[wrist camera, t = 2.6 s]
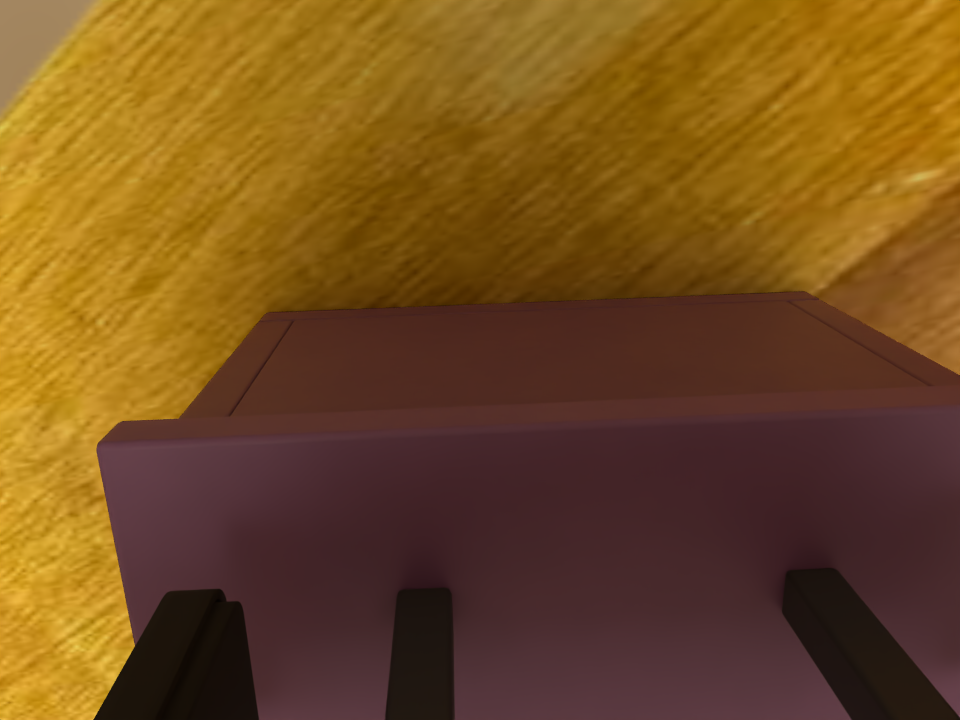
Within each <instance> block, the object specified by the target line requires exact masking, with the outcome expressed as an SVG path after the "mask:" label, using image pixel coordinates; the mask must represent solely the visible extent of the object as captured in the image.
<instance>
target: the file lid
mask: <svg viewBox="0 0 960 720" xmlns="http://www.w3.org/2000/svg"><path fill="white" fill-rule="evenodd" d="M97 456H98V461H99V466H100V471H101V476H102V481H103V486H104V491H105V496H106V501H107V506H108V511H109V517H110V522H111V527H112V532H113V537H114V542H115V547H116V552H117V557H118V562H119V567H120V572H121V577H122V582H123V587H124V592H125V598H126V603H127V608H128V613H129V618H130V623H131V628H132V633H133V638H134V643H135V646H136V644H137V642H138V640H139V638H140V637H141V635H142V633H143V631H144V630H145V628H146V626H147V624H148V623H149V621H150V619H151V617H152V615H153V614H154V612H155V610H156V608H157V607H158V605H159V603H160V601H161V600H162V598H163V597H164V595H165V594H166V593H167V592H169V591H179V590H199V589H218V588H220V589H221V590H223V592H224V594H225V596H226V600H227V601H239V602H240V603H241V605H242V607H243V612H244V618H245V625H246V632H247V639H248V646H249V653H250V660H251V667H252V674H253V681H254V688H255V695H256V702H257V709H258V716H259V720H960V385H949V386H926V387H902V388H879V389H856V390H833V391H810V392H787V393H764V394H741V395H717V396H694V397H671V398H648V399H625V400H602V401H579V402H556V403H533V404H509V405H486V406H463V407H440V408H417V409H394V410H371V411H348V412H325V413H301V414H278V415H255V416H232V417H209V418H186V419H163V420H140V421H122V422H120V423H118V424H117V425H116V426H115V427H114V428H113V429H112V430H111V431H110V432H109V433H108V434H107V435H106V436H105V437H104V438H103V439H102V440H101V441H100V442H99V443H98V445H97Z"/></svg>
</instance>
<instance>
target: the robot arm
mask: <svg viewBox="0 0 960 720" xmlns="http://www.w3.org/2000/svg"><path fill="white" fill-rule="evenodd" d="M94 720H259V716H258V709H257V702H256V695H255V688H254V681H253V674H252V667H251V660H250V653H249V646H248V639H247V632H246V625H245V618H244V612H243V607H242V605H241V603H240V602H239V601H227V600H226V596H225V594H224V592H223V590H221V589H220V588H218V589H199V590H179V591H169V592H167V593H166V594H165V595H164V597H163V598H162V600H161V601H160V603H159V605H158V607H157V608H156V610H155V612H154V614H153V615H152V617H151V619H150V621H149V623H148V624H147V626H146V628H145V630H144V631H143V633H142V635H141V637H140V638H139V640H138V642H137V644H136V646H135V647H134V649H133V651H132V653H131V654H130V656H129V658H128V660H127V661H126V663H125V665H124V667H123V669H122V670H121V672H120V674H119V676H118V677H117V679H116V681H115V683H114V684H113V686H112V688H111V690H110V692H109V693H108V695H107V697H106V699H105V700H104V702H103V704H102V706H101V707H100V709H99V711H98V713H97V715H96V716H95V718H94Z"/></svg>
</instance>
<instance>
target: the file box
mask: <svg viewBox="0 0 960 720" xmlns="http://www.w3.org/2000/svg"><path fill="white" fill-rule="evenodd" d="M949 385H960V375H958V374H956V373H954V372H953V371H951V370H949V369H947V368H945V367H943V366H941V365H940V364H938V363H936V362H934V361H932V360H930V359H928V358H927V357H925V356H923V355H921V354H919V353H917V352H916V351H914V350H912V349H910V348H908V347H906V346H904V345H903V344H901V343H899V342H897V341H895V340H893V339H891V338H890V337H888V336H886V335H884V334H882V333H880V332H878V331H877V330H875V329H873V328H871V327H869V326H867V325H866V324H864V323H862V322H860V321H858V320H856V319H854V318H853V317H851V316H849V315H847V314H845V313H843V312H841V311H840V310H838V309H836V308H834V307H832V306H830V305H828V304H827V303H825V302H823V301H821V300H819V299H818V298H816V297H814V296H812V295H811V294H809V293H807V292H779V293H753V294H728V295H703V296H677V297H652V298H626V299H601V300H575V301H550V302H525V303H499V304H474V305H448V306H423V307H398V308H372V309H347V310H321V311H296V312H270V313H266V314H265V315H264V316H263V317H262V318H261V320H260V321H259V323H257V324H256V326H255V327H254V328H253V329H252V330H251V332H250V333H249V334H248V335H247V337H246V338H245V339H244V340H243V341H242V343H241V344H240V345H239V346H238V347H237V349H236V350H235V351H234V352H233V353H232V355H231V356H230V357H229V358H228V359H227V361H226V362H225V363H224V364H223V366H222V367H221V368H220V369H219V370H218V372H217V373H216V374H215V375H214V376H213V378H212V379H211V380H210V381H209V382H208V384H207V385H206V386H205V387H204V388H203V390H202V391H201V392H200V393H199V395H198V396H197V397H196V398H195V399H194V401H193V402H192V403H191V404H190V405H189V407H188V408H187V409H186V410H185V411H184V413H183V414H182V415H181V416H180V417H179V419H186V418H209V417H232V416H255V415H278V414H301V413H325V412H348V411H371V410H394V409H417V408H440V407H463V406H486V405H509V404H533V403H556V402H579V401H602V400H625V399H648V398H671V397H694V396H717V395H741V394H764V393H787V392H810V391H833V390H856V389H879V388H902V387H926V386H949Z"/></svg>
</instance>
